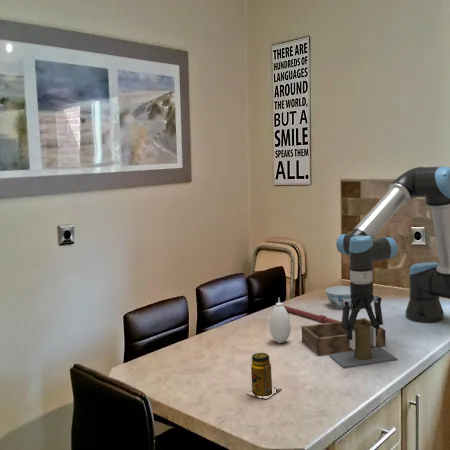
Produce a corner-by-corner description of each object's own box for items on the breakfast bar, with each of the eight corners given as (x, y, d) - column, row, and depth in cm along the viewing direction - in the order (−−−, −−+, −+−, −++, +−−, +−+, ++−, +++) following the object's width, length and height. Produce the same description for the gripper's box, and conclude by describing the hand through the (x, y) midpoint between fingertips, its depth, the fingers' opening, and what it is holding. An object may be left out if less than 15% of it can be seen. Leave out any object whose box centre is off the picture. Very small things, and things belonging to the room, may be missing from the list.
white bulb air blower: (295, 341, 206) (293, 295, 204) (282, 347, 200) (280, 300, 198) (278, 337, 211) (277, 292, 209) (266, 343, 206) (264, 297, 203)
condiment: (246, 394, 163) (244, 356, 162) (262, 384, 170) (261, 348, 168) (265, 400, 158) (264, 361, 157) (282, 390, 165) (280, 352, 163)
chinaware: (362, 310, 241) (362, 293, 240) (329, 311, 241) (328, 295, 240) (355, 301, 256) (354, 285, 255) (323, 302, 256) (322, 286, 255)
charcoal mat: (380, 349, 194) (380, 347, 194) (397, 360, 183) (397, 358, 183) (329, 356, 189) (329, 355, 189) (343, 368, 178) (343, 366, 178)
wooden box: (365, 332, 211) (364, 318, 211) (385, 345, 197) (385, 330, 196) (302, 341, 205) (301, 326, 205) (318, 355, 191) (317, 339, 190)
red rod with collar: (357, 331, 215) (356, 323, 215) (351, 332, 213) (351, 325, 213) (279, 308, 251) (279, 302, 250) (274, 310, 249) (274, 303, 248)
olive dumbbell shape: (372, 360, 182) (371, 328, 181) (354, 359, 184) (353, 328, 182) (371, 353, 188) (370, 323, 187) (353, 353, 190) (352, 323, 188)
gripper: (339, 287, 177) (340, 354, 180) (393, 281, 181) (394, 346, 184) (329, 282, 184) (331, 346, 187) (382, 276, 188) (383, 339, 191)
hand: (362, 346), depth 185 cm, fingers open, 7 cm apart
